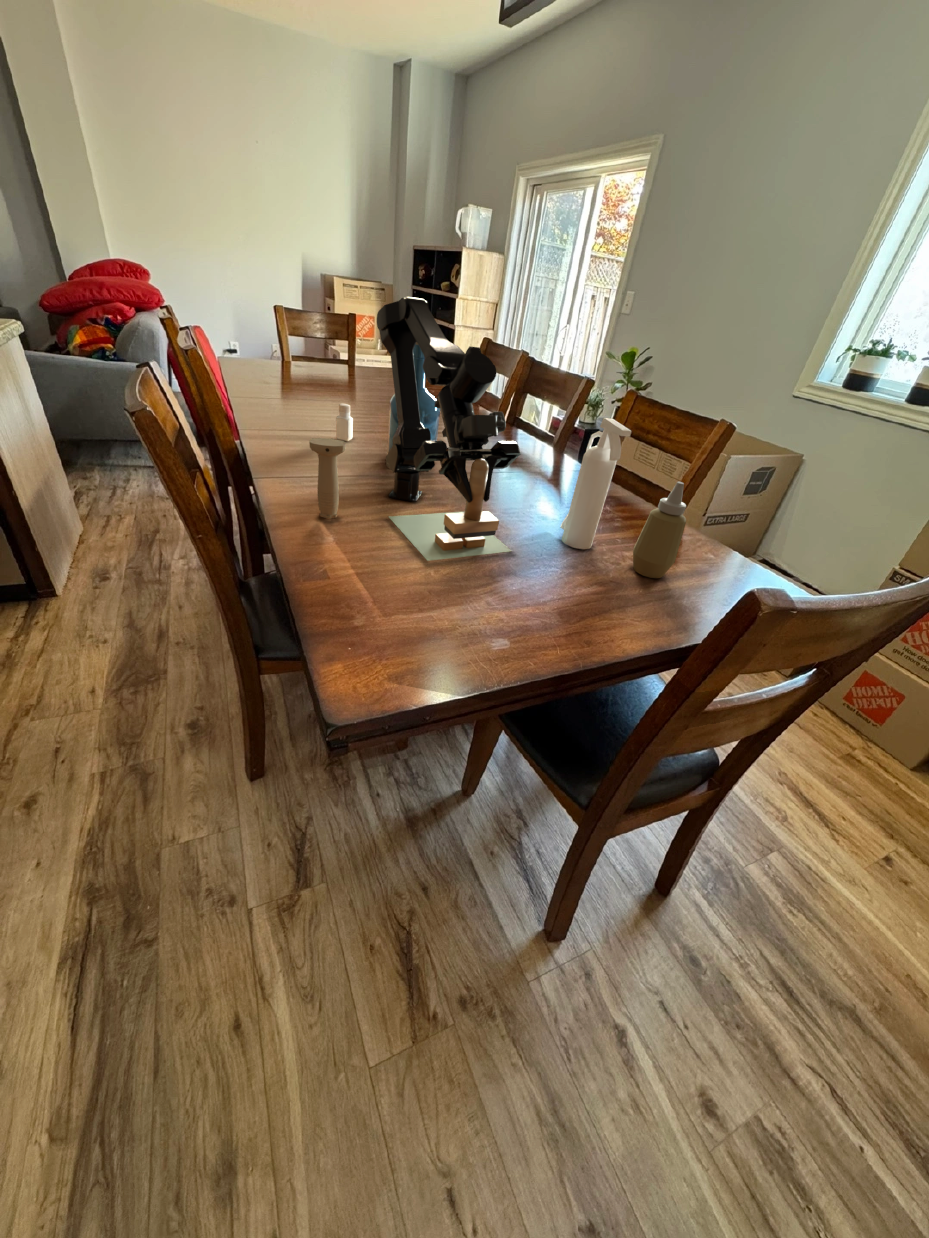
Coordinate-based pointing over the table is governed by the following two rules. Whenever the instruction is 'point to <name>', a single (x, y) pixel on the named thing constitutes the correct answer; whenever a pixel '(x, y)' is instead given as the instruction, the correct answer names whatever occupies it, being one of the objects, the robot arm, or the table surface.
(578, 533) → the white spray bottle
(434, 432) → the blue bottle
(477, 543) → the block
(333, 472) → the handle
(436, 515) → the mat
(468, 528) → the rubber stamp
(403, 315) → the robot arm
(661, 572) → the squeeze bottle
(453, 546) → the block
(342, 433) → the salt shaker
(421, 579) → the table surface
